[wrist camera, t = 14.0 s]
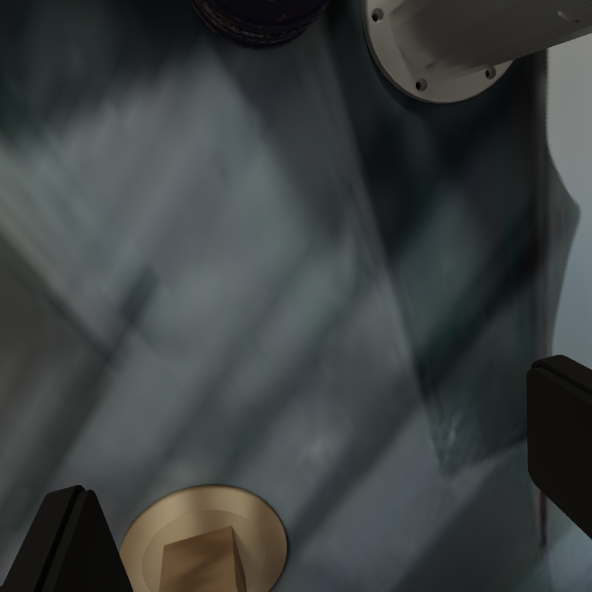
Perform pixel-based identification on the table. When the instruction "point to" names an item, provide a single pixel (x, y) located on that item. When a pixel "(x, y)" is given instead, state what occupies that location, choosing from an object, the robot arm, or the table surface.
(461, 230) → the table surface
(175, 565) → the walnut cube
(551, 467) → the robot arm
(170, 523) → the plate
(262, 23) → the storage jar
